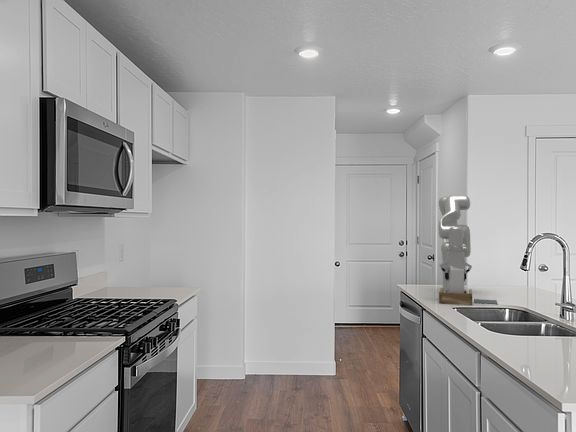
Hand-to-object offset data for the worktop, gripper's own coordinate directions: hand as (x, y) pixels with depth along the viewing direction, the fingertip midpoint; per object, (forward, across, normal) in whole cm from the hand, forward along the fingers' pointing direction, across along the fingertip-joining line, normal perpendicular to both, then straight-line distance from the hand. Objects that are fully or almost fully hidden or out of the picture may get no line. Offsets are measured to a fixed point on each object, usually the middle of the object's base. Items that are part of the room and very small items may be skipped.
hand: (455, 280), depth 278 cm
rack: (+12, 0, -1) cm, 12 cm away
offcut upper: (+10, 0, -7) cm, 12 cm away
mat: (+12, -16, -6) cm, 21 cm away
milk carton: (+9, 0, 0) cm, 9 cm away
